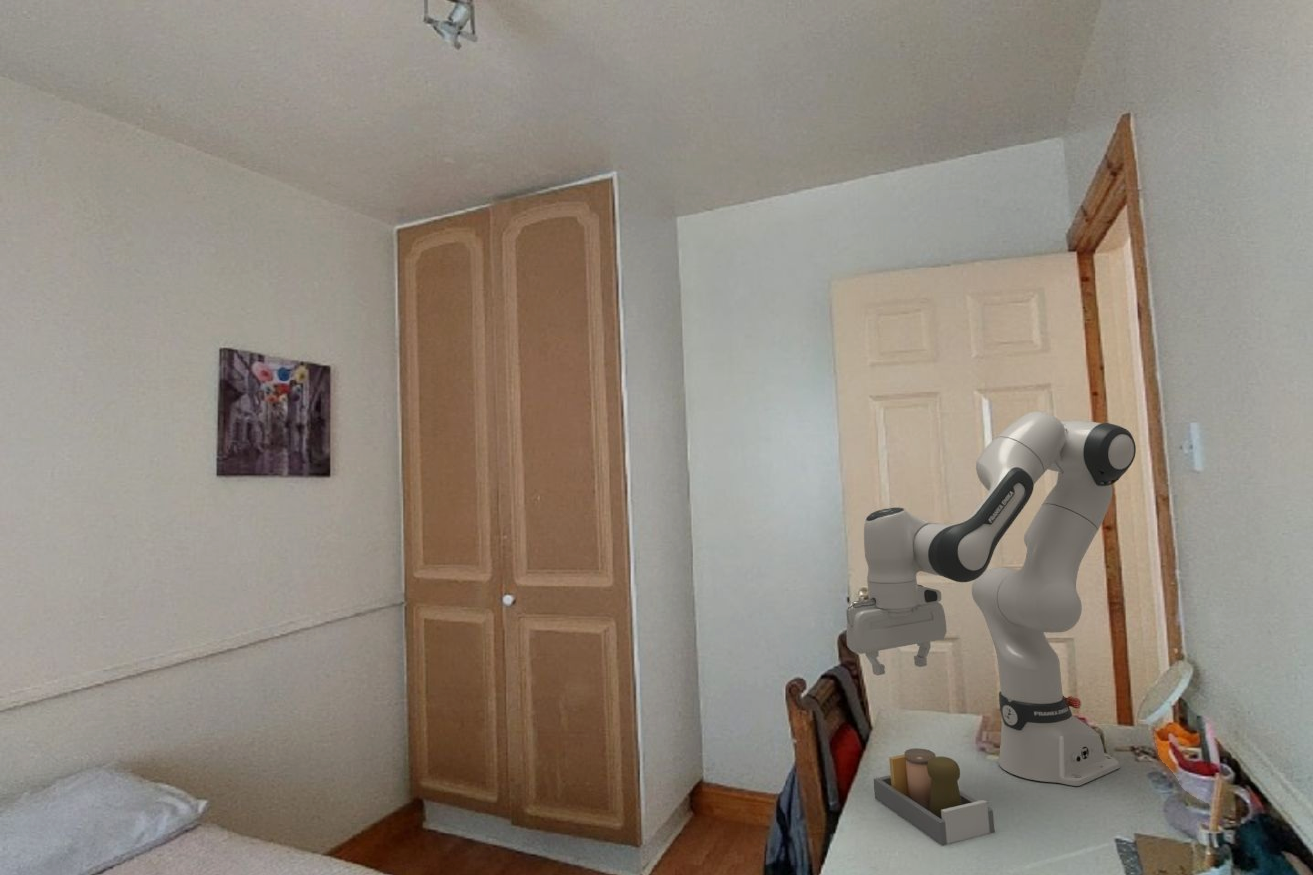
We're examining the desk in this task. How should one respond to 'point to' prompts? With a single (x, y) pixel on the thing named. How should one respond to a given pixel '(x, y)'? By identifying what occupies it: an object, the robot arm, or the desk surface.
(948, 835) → the gray open box
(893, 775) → the block
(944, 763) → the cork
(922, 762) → the terracotta jar
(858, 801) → the desk surface
